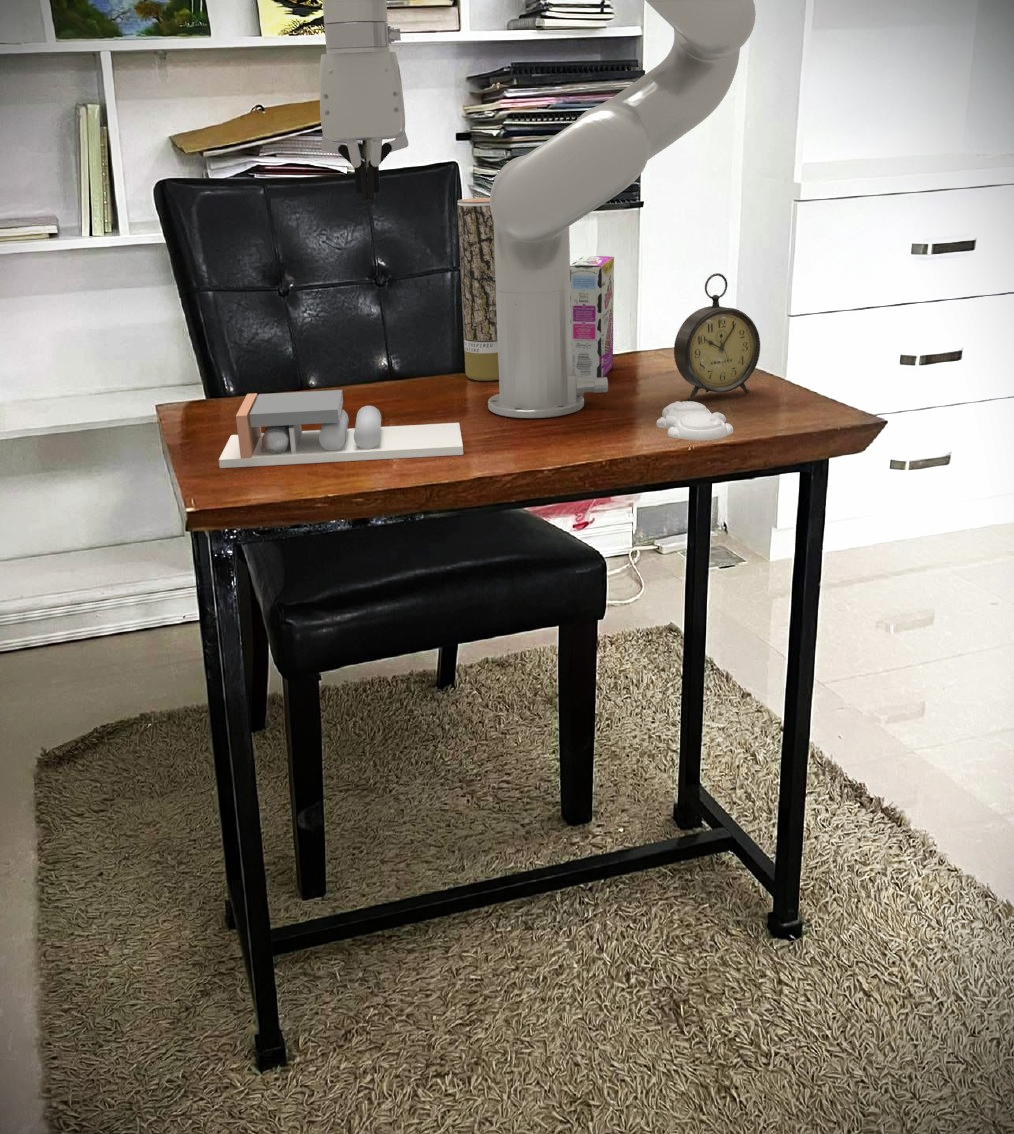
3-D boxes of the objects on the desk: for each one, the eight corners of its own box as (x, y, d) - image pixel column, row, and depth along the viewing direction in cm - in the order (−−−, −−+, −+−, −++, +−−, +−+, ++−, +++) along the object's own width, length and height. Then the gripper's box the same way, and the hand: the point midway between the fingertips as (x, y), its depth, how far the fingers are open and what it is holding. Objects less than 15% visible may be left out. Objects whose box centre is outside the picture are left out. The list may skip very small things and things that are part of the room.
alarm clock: (686, 405, 163) (688, 279, 158) (668, 397, 168) (669, 274, 162) (760, 396, 167) (765, 272, 161) (740, 388, 172) (743, 267, 166)
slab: (343, 402, 153) (342, 389, 152) (338, 422, 144) (337, 409, 143) (260, 406, 152) (259, 394, 152) (250, 427, 143) (249, 414, 142)
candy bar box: (602, 384, 177) (602, 265, 171) (568, 383, 178) (566, 265, 172) (615, 367, 187) (615, 254, 181) (582, 366, 188) (581, 255, 182)
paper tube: (506, 382, 180) (500, 201, 171) (460, 382, 181) (452, 202, 172) (516, 372, 186) (510, 197, 177) (471, 372, 187) (463, 198, 178)
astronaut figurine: (719, 416, 159) (720, 393, 158) (738, 442, 148) (738, 417, 147) (651, 419, 159) (651, 395, 158) (664, 445, 148) (664, 420, 147)
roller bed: (459, 430, 156) (457, 383, 154) (463, 454, 146) (460, 404, 143) (232, 442, 154) (226, 395, 152) (219, 468, 144) (213, 417, 142)
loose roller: (290, 437, 153) (296, 414, 152) (284, 457, 145) (290, 433, 144) (266, 430, 153) (272, 407, 152) (259, 450, 145) (265, 426, 144)
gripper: (419, 39, 153) (428, 195, 160) (296, 44, 153) (310, 200, 159) (420, 37, 146) (429, 200, 153) (291, 42, 146) (306, 205, 152)
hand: (368, 199), depth 156 cm, fingers closed
